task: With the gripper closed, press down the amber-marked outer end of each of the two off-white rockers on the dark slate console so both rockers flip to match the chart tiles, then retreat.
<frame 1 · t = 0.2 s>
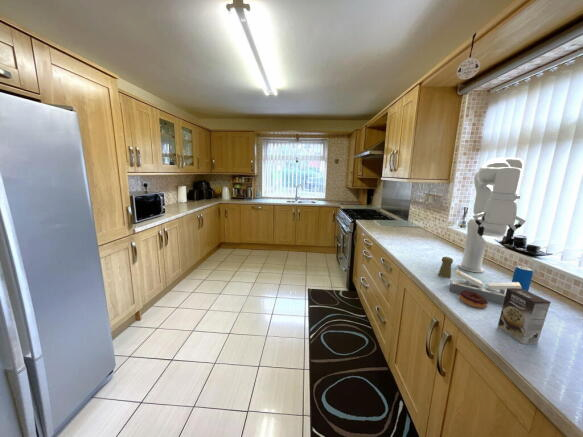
hand: (494, 236, 98), 30 cm above the worktop, fingers open, 9 cm apart
console: (484, 296, 108), on the worktop
cork: (444, 276, 129), on the worktop
beverage can: (518, 290, 115), on the worktop
rocker a: (468, 278, 110), point 7 cm above the worktop, hinge at -18.0°
rocker b: (503, 285, 104), point 7 cm above the worktop, hinge at 18.0°
donut: (472, 303, 102), on the worktop
coffee box: (516, 335, 81), on the worktop
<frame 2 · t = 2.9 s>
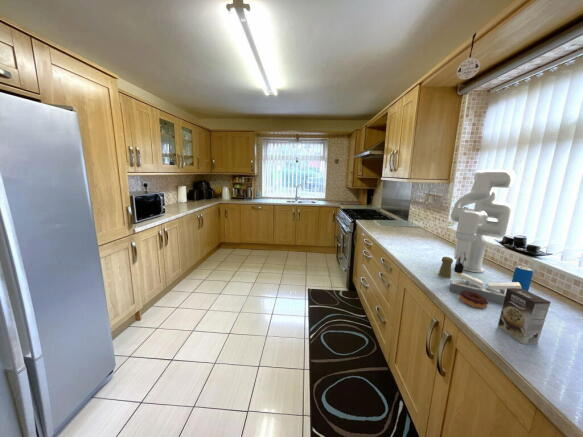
hand: (458, 271, 112), 9 cm above the worktop, fingers closed
rocker a: (468, 278, 110), point 7 cm above the worktop, hinge at -13.8°, touching gripper
everything else where it was.
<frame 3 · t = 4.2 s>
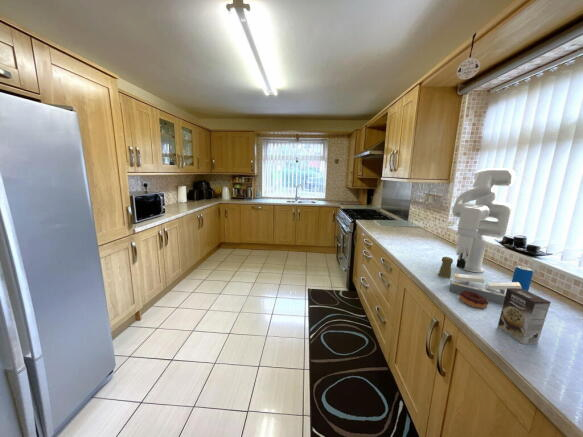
hand: (460, 267, 112), 11 cm above the worktop, fingers closed
rocker a: (468, 278, 110), point 7 cm above the worktop, hinge at 9.0°
everything else where it was.
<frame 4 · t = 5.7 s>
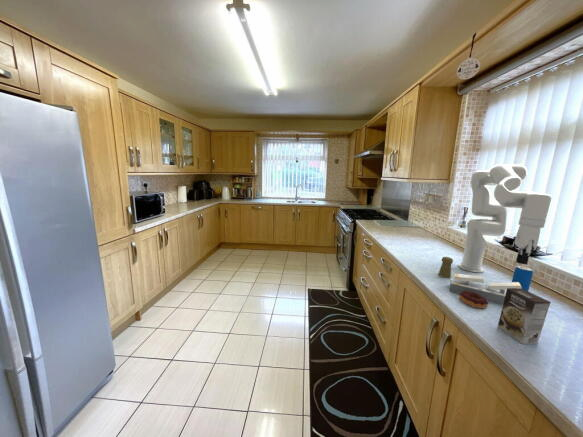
hand: (521, 263, 99), 19 cm above the worktop, fingers closed
nothing on the worktop moved.
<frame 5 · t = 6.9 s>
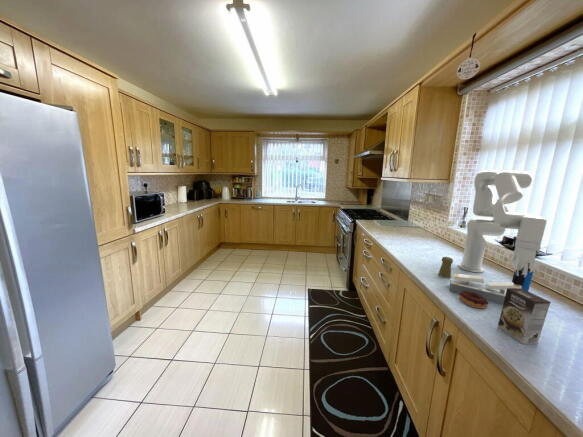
hand: (517, 283, 101), 9 cm above the worktop, fingers closed
rocker b: (503, 285, 104), point 7 cm above the worktop, hinge at 17.3°, touching gripper
everything else where it was.
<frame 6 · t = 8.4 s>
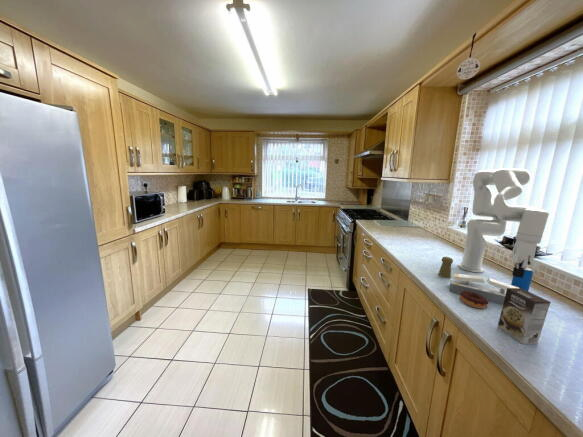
hand: (517, 276, 101), 13 cm above the worktop, fingers closed
rocker b: (503, 285, 104), point 7 cm above the worktop, hinge at -8.7°
everything else where it was.
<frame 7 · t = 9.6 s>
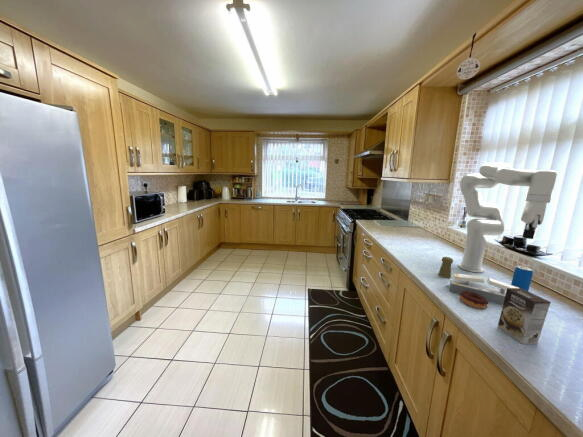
hand: (527, 238, 104), 29 cm above the worktop, fingers closed
nothing on the worktop moved.
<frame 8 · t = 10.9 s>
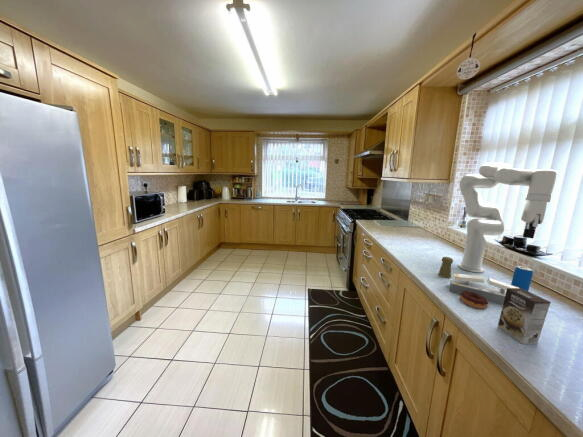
hand: (527, 237, 104), 29 cm above the worktop, fingers closed
nothing on the worktop moved.
at the end: rocker a at +9° (first picture: -18°); rocker b at -9° (first picture: +18°) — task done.
